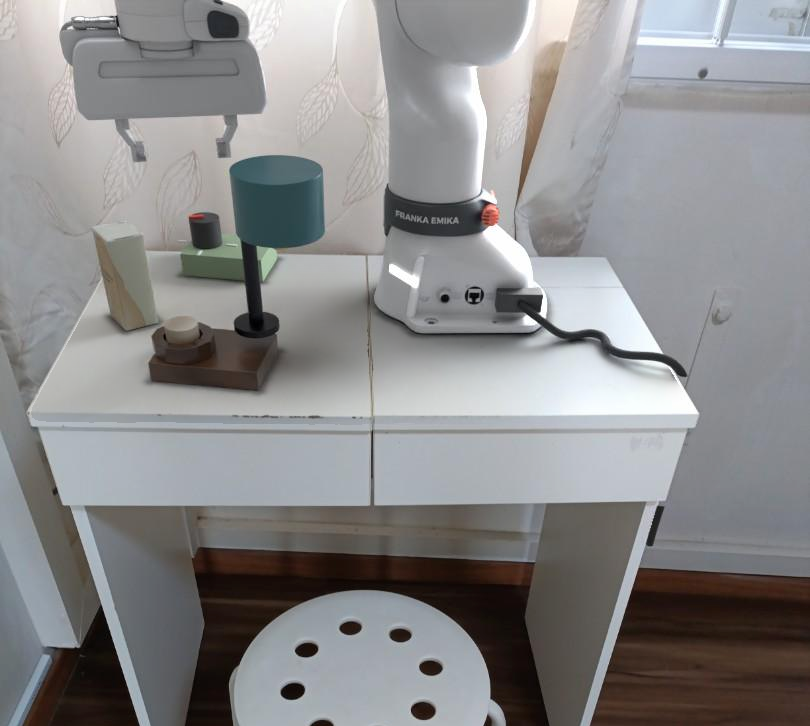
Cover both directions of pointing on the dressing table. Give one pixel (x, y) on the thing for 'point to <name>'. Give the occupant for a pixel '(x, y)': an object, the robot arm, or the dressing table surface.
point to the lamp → (273, 221)
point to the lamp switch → (181, 330)
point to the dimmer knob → (205, 230)
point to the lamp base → (213, 359)
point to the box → (125, 274)
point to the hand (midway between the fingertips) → (182, 158)
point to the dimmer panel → (223, 260)
